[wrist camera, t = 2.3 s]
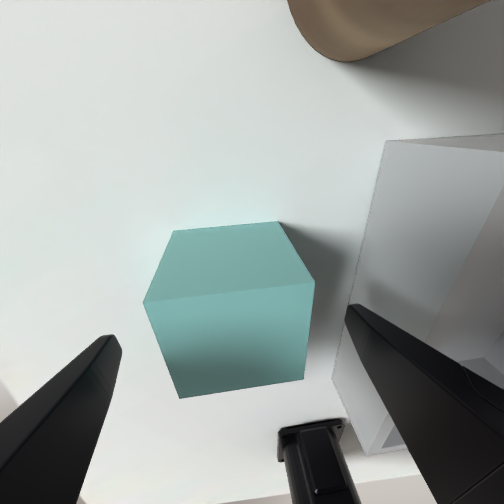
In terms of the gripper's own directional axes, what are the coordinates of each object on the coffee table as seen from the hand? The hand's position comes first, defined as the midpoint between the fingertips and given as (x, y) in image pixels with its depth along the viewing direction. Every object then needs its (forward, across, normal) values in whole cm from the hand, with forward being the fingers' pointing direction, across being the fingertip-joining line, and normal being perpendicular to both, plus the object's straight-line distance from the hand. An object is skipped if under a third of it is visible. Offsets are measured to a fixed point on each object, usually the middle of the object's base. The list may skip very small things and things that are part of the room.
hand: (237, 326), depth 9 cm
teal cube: (+4, 0, 0) cm, 4 cm away
